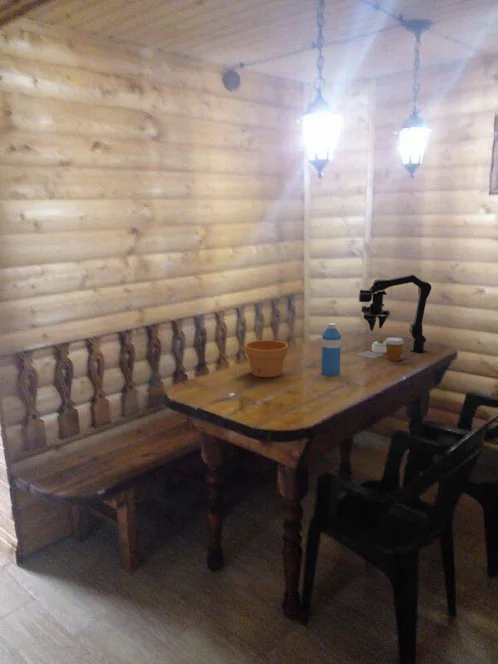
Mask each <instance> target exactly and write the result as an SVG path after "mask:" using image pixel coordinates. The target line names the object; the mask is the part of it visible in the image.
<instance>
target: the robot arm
mask: <svg viewBox="0 0 498 664" xmlns="http://www.w3.org/2000/svg"><path fill="white" fill-rule="evenodd" d="M411 283H413V284H414V285H415V286H417V287H418V289H417V291H418V298H417V299H418V300H417V306H416V310H415V315H414V320H413V323H412V324H411V323H410V324H409V329H408V331H409V334H410V336H411V337H412V338H413V349H411V350H410V351H411V352H414V353H420V354H423V353H425V352H427V349H425V342H426V341H427V338H426V337H425V336H424V335H423V320H424V313H425V309H426V304H427V299H428V298H429V296H430V293H431V290H432V284H430V282H428V281H425V280H422V279H419V278H418V277H417V276H415V275H414V274H409V275H404V276H399V277H395V278H389V279H386V278H385V279H384V278H383V279H382V278H379V279H378V278H377V279H375V280H374V281H373V283H372V285H371V287H370V288H369V289H359V294H358V302H359V303H370V302H371V301H372V303H370V305H369V306H367V305H364V306H362V307H361V312H362V313H363V320H365V321H366V322H367V323H368V325H369V329H370V332H373V331H374V328H375V325H376V323H377V318H378V329H382V327H384V324H385V322H386V320H387V319H388V317H389V316H391V315H390V313H391V312H390V310H389V309H388V310H387V309H383V307H385V303H384V296H387V295H388V293H387V292H386V291H385V290H386V289H388V288H392V287H395V286H400V285H404V284H411Z"/></svg>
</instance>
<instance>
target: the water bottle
mask: <svg viewBox="0 0 498 664" xmlns="http://www.w3.org/2000/svg"><path fill="white" fill-rule="evenodd" d="M336 327H337V323H333V322H329V323H327V328H326V329H325V331H323V333H322V334H321V335H322V336H321V340H322V341H321V375H324V376H327V377H336V376H339V375H340V373H341V371H340V370H341V342H342V341H341V339H342V336H341V333H340V332H339V331H338V329H337V328H336Z"/></svg>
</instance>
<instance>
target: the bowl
mask: <svg viewBox="0 0 498 664" xmlns="http://www.w3.org/2000/svg"><path fill="white" fill-rule="evenodd" d="M371 352H376V353H381V354H384V353H386V354H387V348H386V347H378V346H374V345H373V343H372V344H371Z"/></svg>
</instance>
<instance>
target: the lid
mask: <svg viewBox="0 0 498 664" xmlns="http://www.w3.org/2000/svg"><path fill="white" fill-rule="evenodd" d="M377 337H378V338H377V340H378V341H373V343H372V344H373V345H374V346H378V347H386V342H385V341H384V335H378V336H377Z"/></svg>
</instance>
